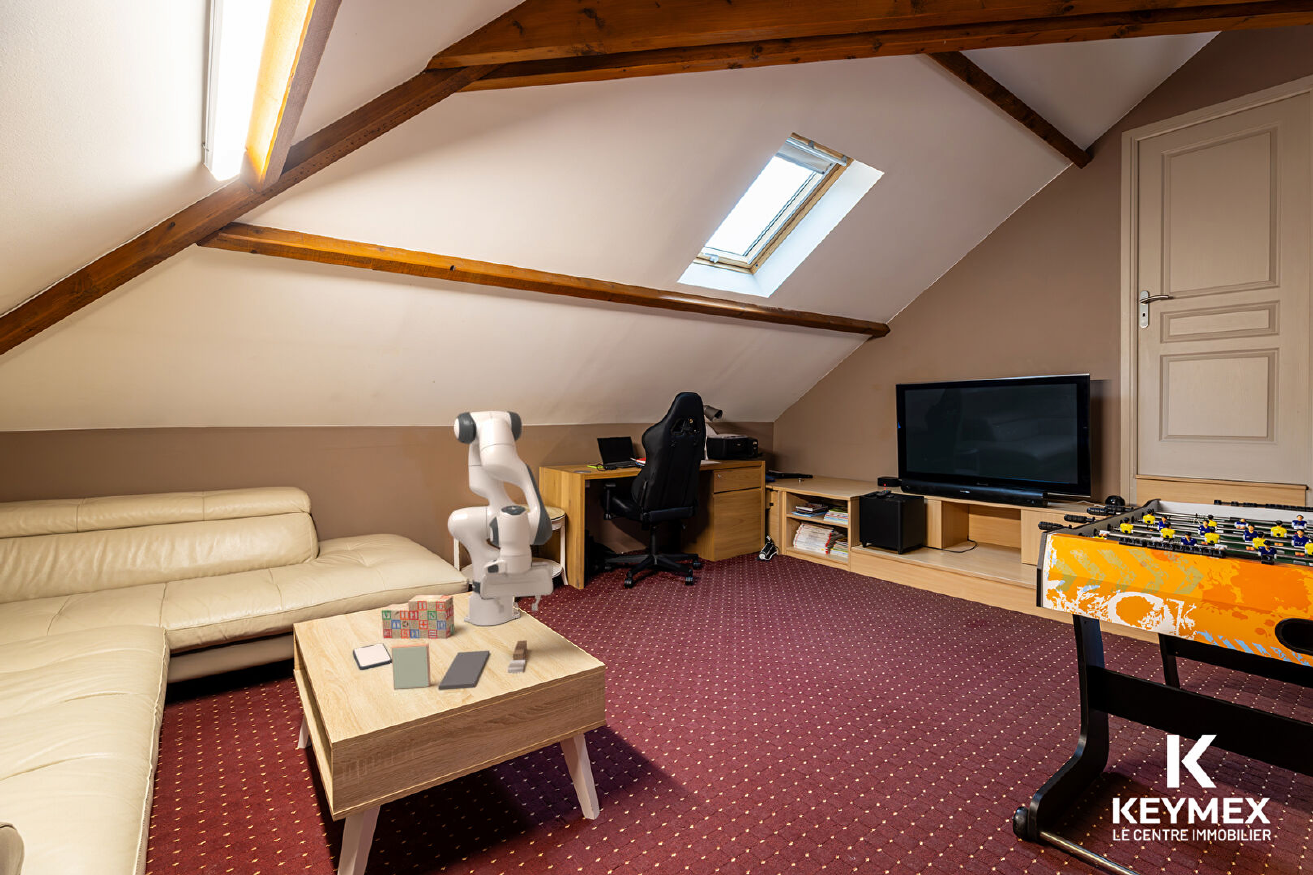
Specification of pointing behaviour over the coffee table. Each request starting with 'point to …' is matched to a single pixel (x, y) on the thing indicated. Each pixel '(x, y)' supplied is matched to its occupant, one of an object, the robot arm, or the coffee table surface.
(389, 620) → the stack of blocks
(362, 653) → the smartphone
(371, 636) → the coffee table surface
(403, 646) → the tile
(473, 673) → the rubber mat
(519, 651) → the brown handled tool
